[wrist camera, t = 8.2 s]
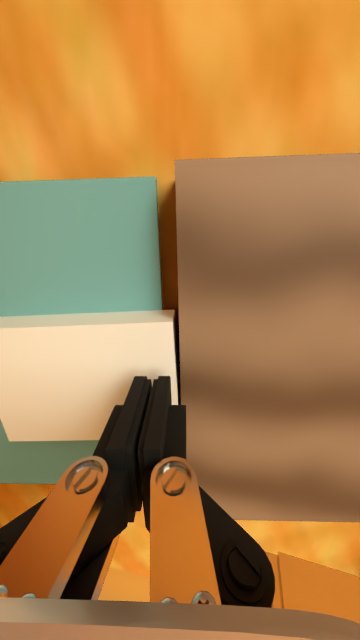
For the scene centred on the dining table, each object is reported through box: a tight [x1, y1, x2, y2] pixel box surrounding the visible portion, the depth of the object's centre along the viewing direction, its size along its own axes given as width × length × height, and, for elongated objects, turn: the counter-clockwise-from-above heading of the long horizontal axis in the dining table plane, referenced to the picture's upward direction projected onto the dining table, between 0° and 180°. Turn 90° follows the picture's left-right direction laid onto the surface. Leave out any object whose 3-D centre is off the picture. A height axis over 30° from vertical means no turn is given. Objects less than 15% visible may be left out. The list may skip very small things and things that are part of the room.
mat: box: [0, 177, 163, 484], centre depth 14 cm, size 20×19×1 cm
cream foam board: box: [0, 310, 181, 441], centre depth 13 cm, size 7×10×2 cm
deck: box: [175, 153, 360, 522], centre depth 12 cm, size 20×16×2 cm
